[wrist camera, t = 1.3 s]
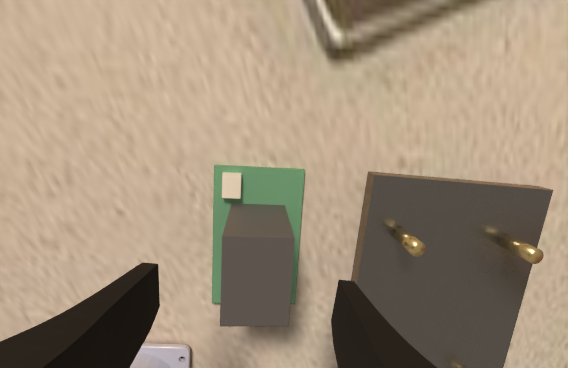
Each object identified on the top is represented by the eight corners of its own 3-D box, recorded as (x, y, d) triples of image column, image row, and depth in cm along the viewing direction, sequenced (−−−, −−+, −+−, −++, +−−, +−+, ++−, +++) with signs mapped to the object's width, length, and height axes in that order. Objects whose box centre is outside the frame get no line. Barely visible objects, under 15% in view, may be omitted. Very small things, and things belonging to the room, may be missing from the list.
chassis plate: (477, 410, 28) (510, 455, 24) (330, 409, 26) (342, 456, 23) (538, 186, 23) (589, 199, 20) (368, 171, 22) (389, 182, 19)
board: (293, 299, 24) (307, 366, 18) (213, 298, 23) (196, 367, 17) (303, 168, 22) (322, 190, 16) (215, 164, 21) (197, 185, 15)
